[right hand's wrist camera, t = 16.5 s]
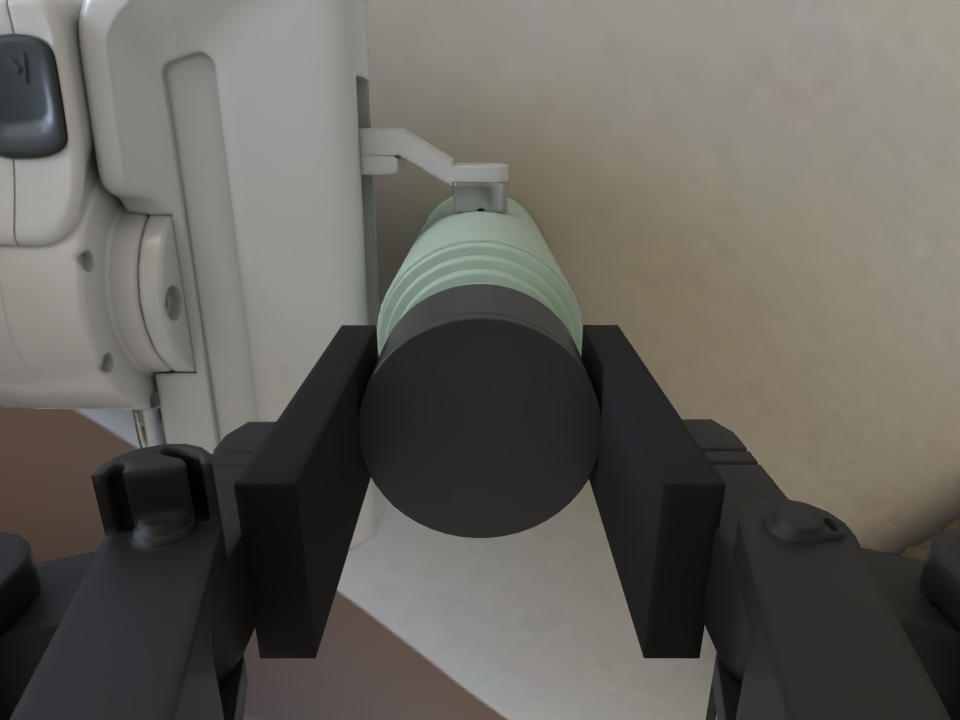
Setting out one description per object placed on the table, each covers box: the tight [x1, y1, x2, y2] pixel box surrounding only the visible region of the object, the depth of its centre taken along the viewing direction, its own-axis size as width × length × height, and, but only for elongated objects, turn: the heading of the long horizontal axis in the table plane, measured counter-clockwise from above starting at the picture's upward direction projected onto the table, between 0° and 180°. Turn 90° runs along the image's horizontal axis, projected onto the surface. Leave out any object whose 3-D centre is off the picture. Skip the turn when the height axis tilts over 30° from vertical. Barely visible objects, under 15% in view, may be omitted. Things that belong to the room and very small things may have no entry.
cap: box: [358, 284, 601, 538], centre depth 13 cm, size 4×4×3 cm
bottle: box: [377, 196, 583, 356], centre depth 20 cm, size 6×6×17 cm
